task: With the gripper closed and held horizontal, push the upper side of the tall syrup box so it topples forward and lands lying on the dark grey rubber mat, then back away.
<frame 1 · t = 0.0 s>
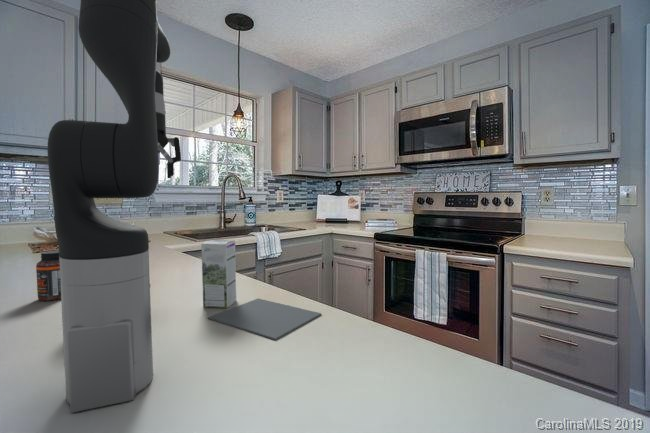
hand: (150, 177, 81), 29 cm above the countertop, tool pointing down, fingers open, 8 cm apart
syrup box: (220, 305, 72), on the countertop
supplement bottle: (54, 298, 77), on the countertop
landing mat: (265, 316, 65), on the countertop
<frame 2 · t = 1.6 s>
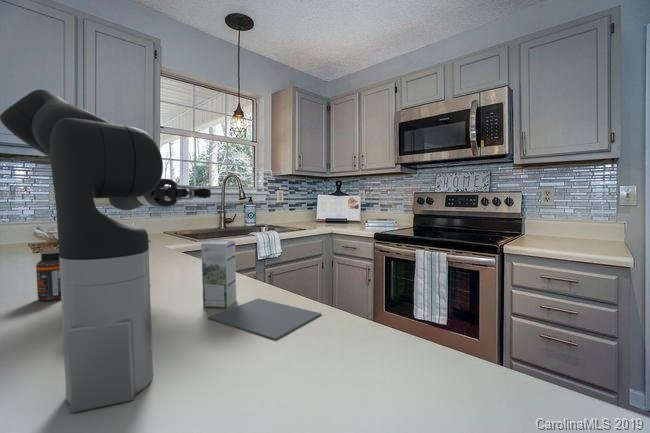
hand: (194, 192, 76), 25 cm above the countertop, tool horizontal, fingers open, 7 cm apart
nothing on the countertop moved.
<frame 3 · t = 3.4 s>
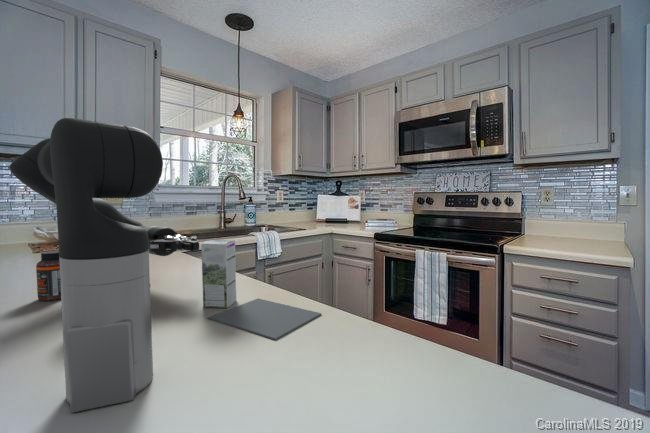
hand: (196, 246, 76), 13 cm above the countertop, tool horizontal, fingers closed
nothing on the countertop moved.
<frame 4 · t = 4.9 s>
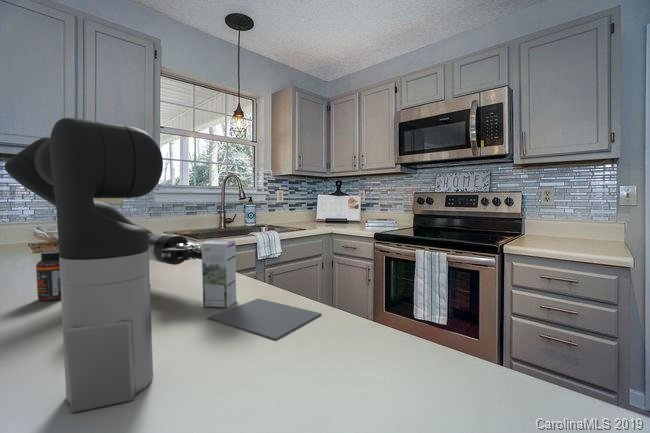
hand: (209, 254, 74), 11 cm above the countertop, tool horizontal, fingers closed
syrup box: (220, 305, 72), on the countertop, touching gripper
everything else where it was.
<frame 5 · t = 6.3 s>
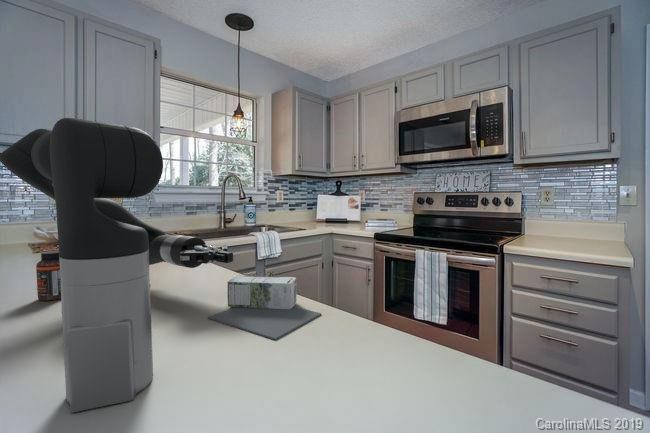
hand: (230, 257, 70), 11 cm above the countertop, tool horizontal, fingers closed
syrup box: (230, 290, 72), point 3 cm above the countertop, touching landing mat
everything else where it was.
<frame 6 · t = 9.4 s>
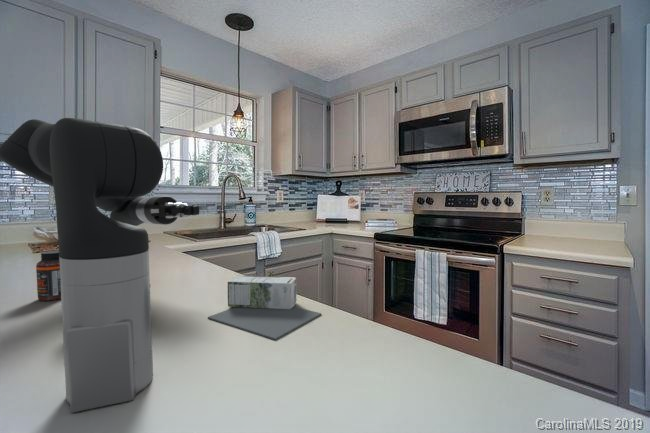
hand: (196, 210, 76), 21 cm above the countertop, tool horizontal, fingers closed
nothing on the countertop moved.
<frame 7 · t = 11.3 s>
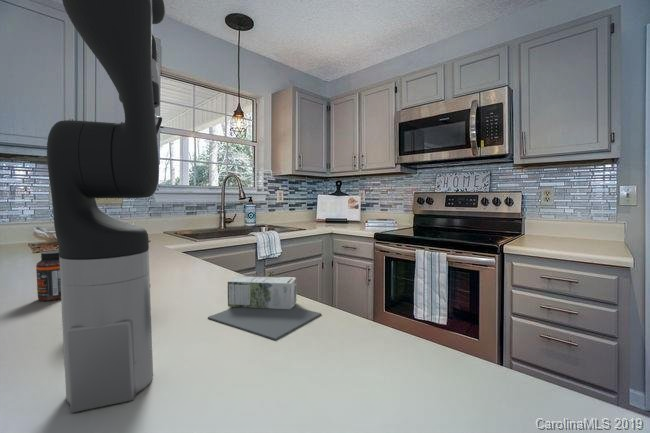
hand: (141, 163, 69), 32 cm above the countertop, tool pointing down, fingers closed
nothing on the countertop moved.
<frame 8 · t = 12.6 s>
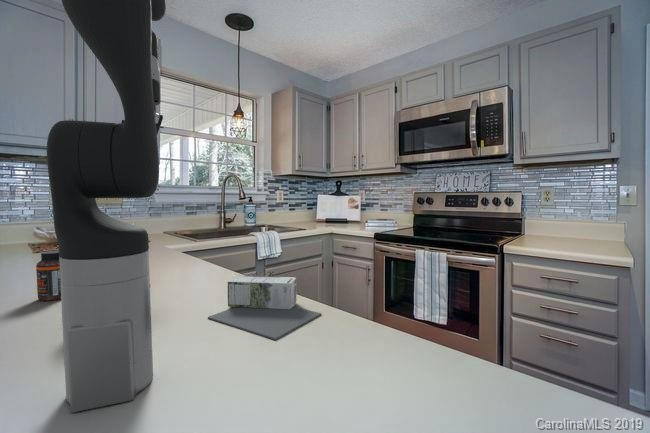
hand: (142, 161, 69), 32 cm above the countertop, tool pointing down, fingers closed
nothing on the countertop moved.
at the end: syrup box tilted 90°; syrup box touching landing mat; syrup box inside the target area on the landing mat (11.0 cm from its centre), point 3.1 cm above the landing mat's base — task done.
